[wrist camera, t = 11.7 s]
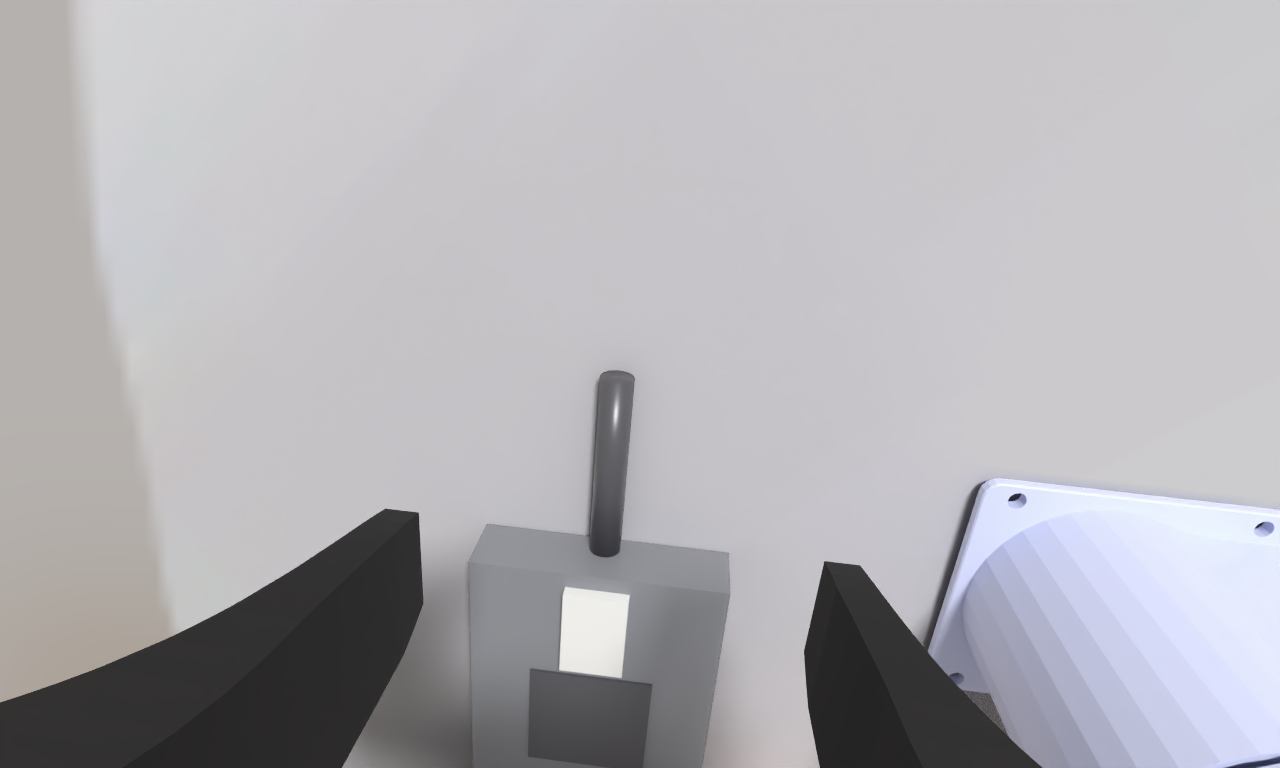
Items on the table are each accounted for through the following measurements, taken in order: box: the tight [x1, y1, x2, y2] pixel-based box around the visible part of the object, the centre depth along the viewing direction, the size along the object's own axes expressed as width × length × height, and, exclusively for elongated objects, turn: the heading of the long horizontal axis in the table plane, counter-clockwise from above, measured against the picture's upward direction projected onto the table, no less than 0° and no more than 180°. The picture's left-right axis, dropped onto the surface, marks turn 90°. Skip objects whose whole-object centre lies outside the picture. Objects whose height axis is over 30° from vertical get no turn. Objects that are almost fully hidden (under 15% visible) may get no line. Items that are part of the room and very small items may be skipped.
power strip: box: [469, 371, 730, 768], centre depth 25 cm, size 8×24×2 cm, turn 175°
